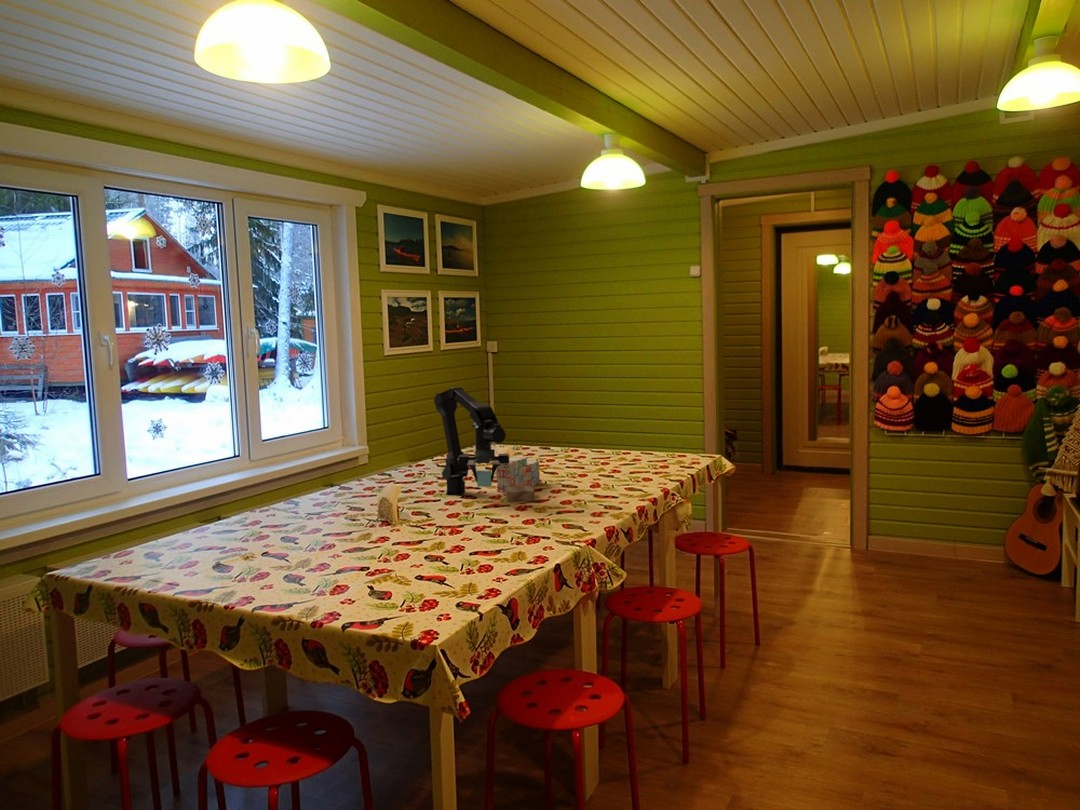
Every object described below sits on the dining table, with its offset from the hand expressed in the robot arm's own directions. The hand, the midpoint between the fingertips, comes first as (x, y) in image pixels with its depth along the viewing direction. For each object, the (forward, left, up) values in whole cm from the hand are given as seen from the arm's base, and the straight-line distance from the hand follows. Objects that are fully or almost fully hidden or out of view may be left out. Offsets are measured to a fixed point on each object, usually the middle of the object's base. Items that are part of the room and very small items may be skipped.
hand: (484, 482), depth 298 cm
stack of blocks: (+13, +23, -8) cm, 28 cm away
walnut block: (+13, +4, -8) cm, 16 cm away
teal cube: (0, 0, -1) cm, 1 cm away
